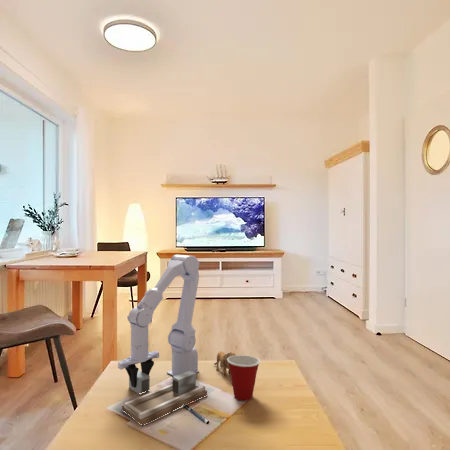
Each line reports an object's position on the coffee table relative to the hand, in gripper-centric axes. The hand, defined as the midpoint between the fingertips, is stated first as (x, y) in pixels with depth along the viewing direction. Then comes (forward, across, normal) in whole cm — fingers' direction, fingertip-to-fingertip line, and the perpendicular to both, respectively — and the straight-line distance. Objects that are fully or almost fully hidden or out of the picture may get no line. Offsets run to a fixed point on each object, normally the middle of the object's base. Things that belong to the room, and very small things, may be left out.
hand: (139, 384), depth 113 cm
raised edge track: (+2, -1, +14) cm, 14 cm away
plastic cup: (+2, -21, +28) cm, 35 cm away
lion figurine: (+2, -30, +11) cm, 32 cm away
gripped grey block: (+2, 0, 0) cm, 2 cm away
